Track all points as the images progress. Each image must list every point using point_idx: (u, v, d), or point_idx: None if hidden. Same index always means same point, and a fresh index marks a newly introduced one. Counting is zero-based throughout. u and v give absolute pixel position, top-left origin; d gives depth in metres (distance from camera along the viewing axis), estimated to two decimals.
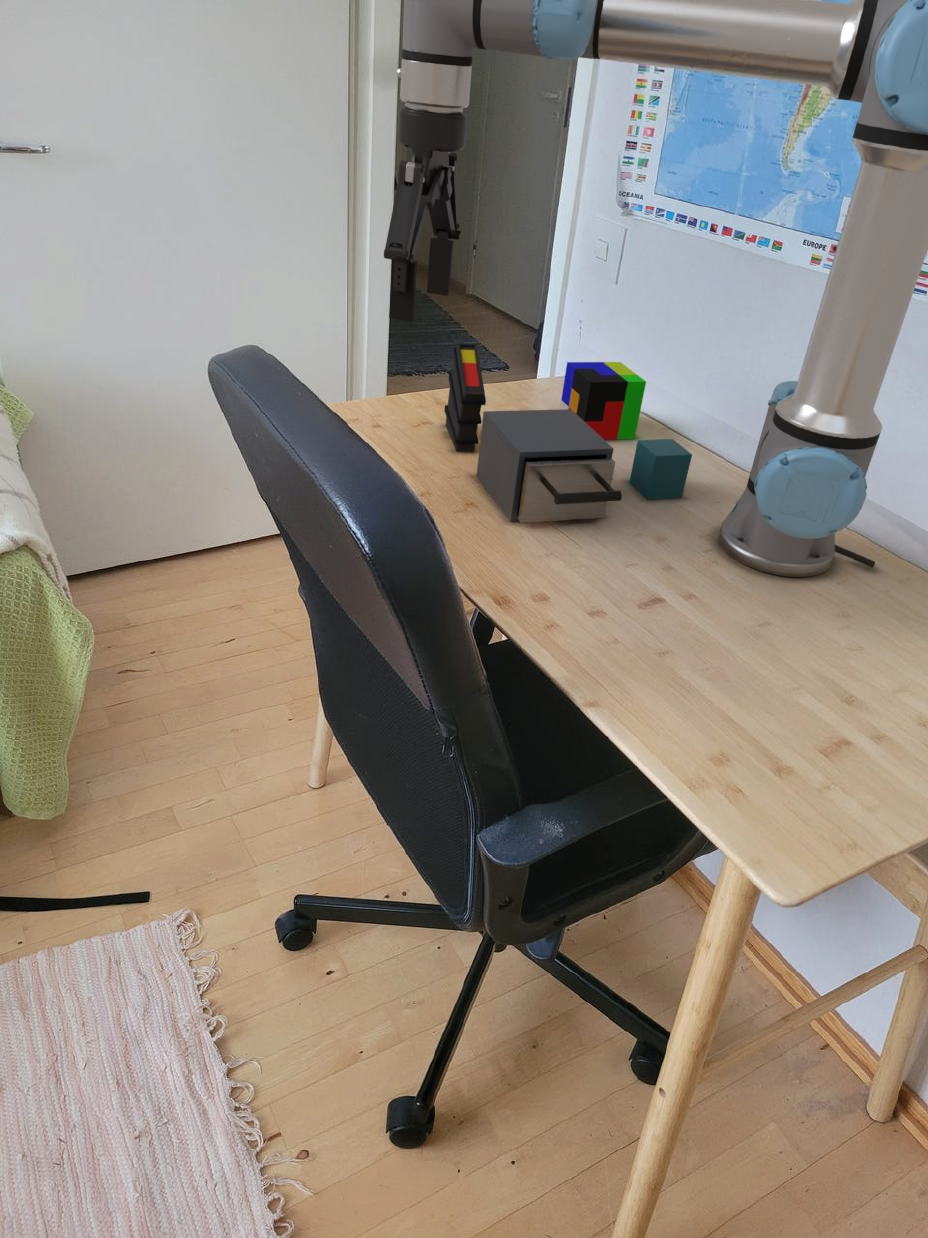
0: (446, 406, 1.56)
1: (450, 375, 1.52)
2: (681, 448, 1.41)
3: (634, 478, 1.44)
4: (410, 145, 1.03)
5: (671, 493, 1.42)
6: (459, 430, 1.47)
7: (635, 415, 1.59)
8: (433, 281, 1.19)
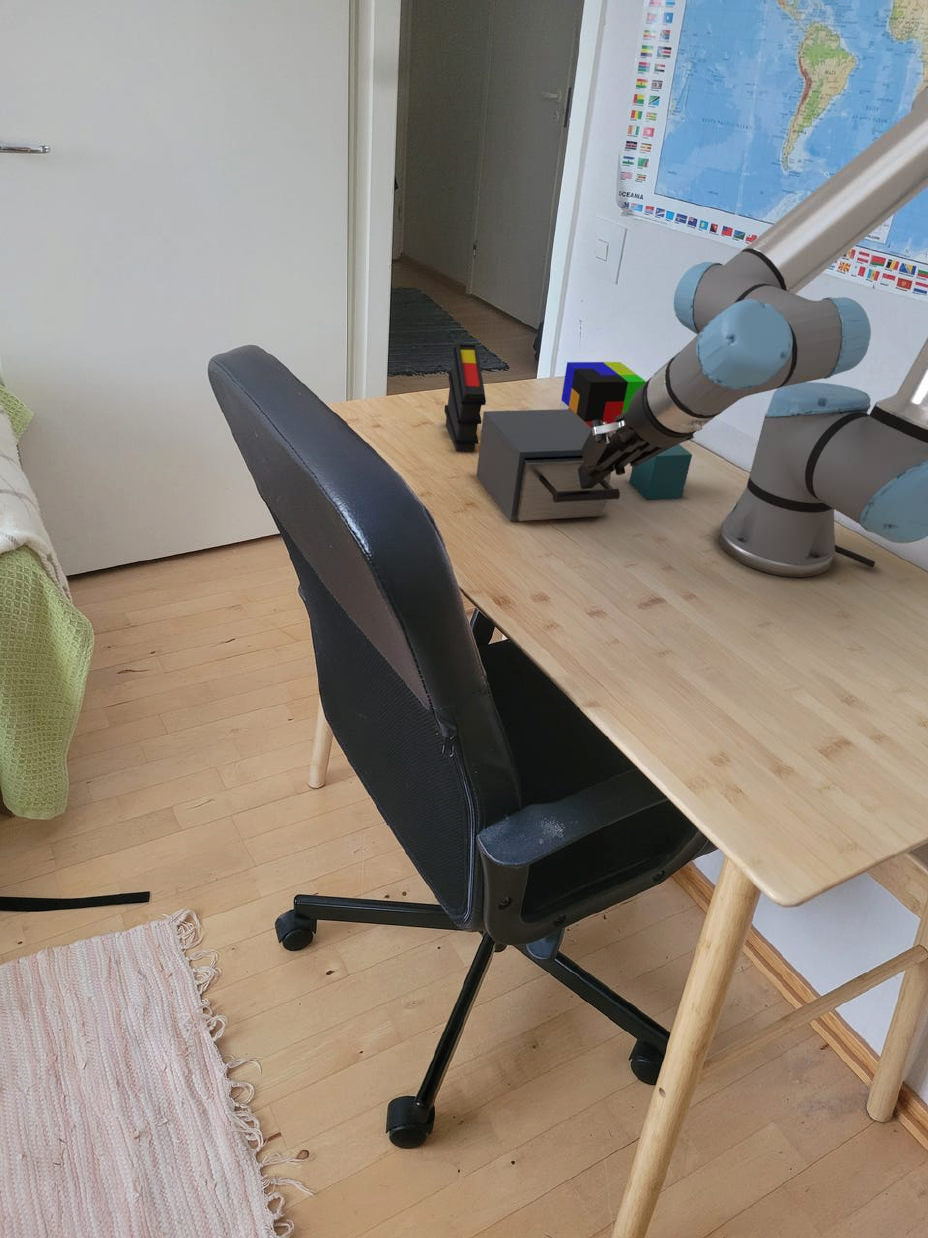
0: (446, 406, 1.56)
1: (450, 375, 1.52)
2: (681, 448, 1.41)
3: (634, 478, 1.44)
4: None
5: (671, 493, 1.42)
6: (459, 430, 1.47)
7: None
8: None
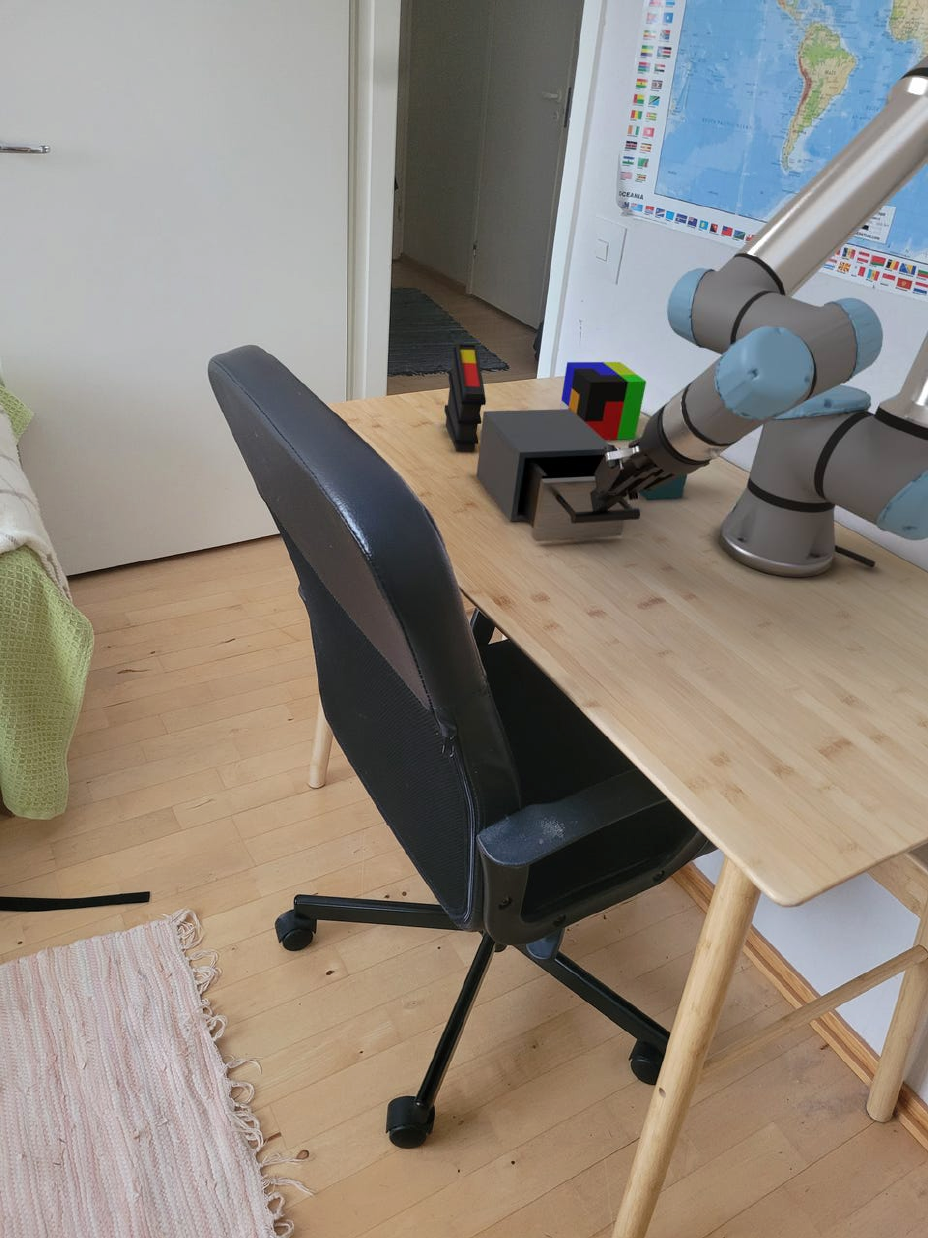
0: (446, 406, 1.56)
1: (450, 375, 1.52)
2: None
3: None
4: None
5: (671, 493, 1.42)
6: (459, 430, 1.47)
7: (635, 415, 1.59)
8: None
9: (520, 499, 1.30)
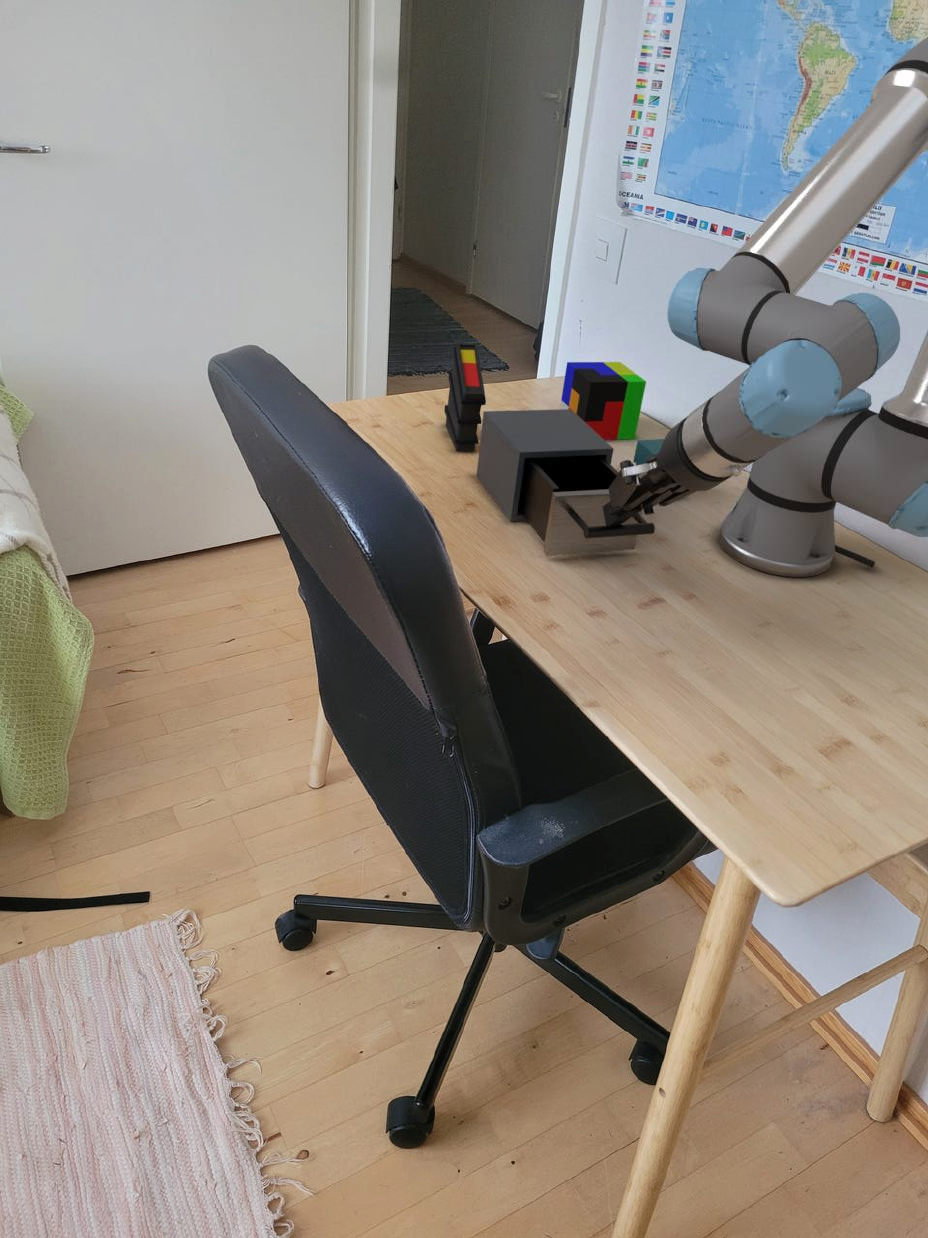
0: (446, 406, 1.56)
1: (450, 375, 1.52)
2: None
3: None
4: None
5: None
6: (459, 430, 1.47)
7: (635, 415, 1.59)
8: None
9: (530, 512, 1.27)
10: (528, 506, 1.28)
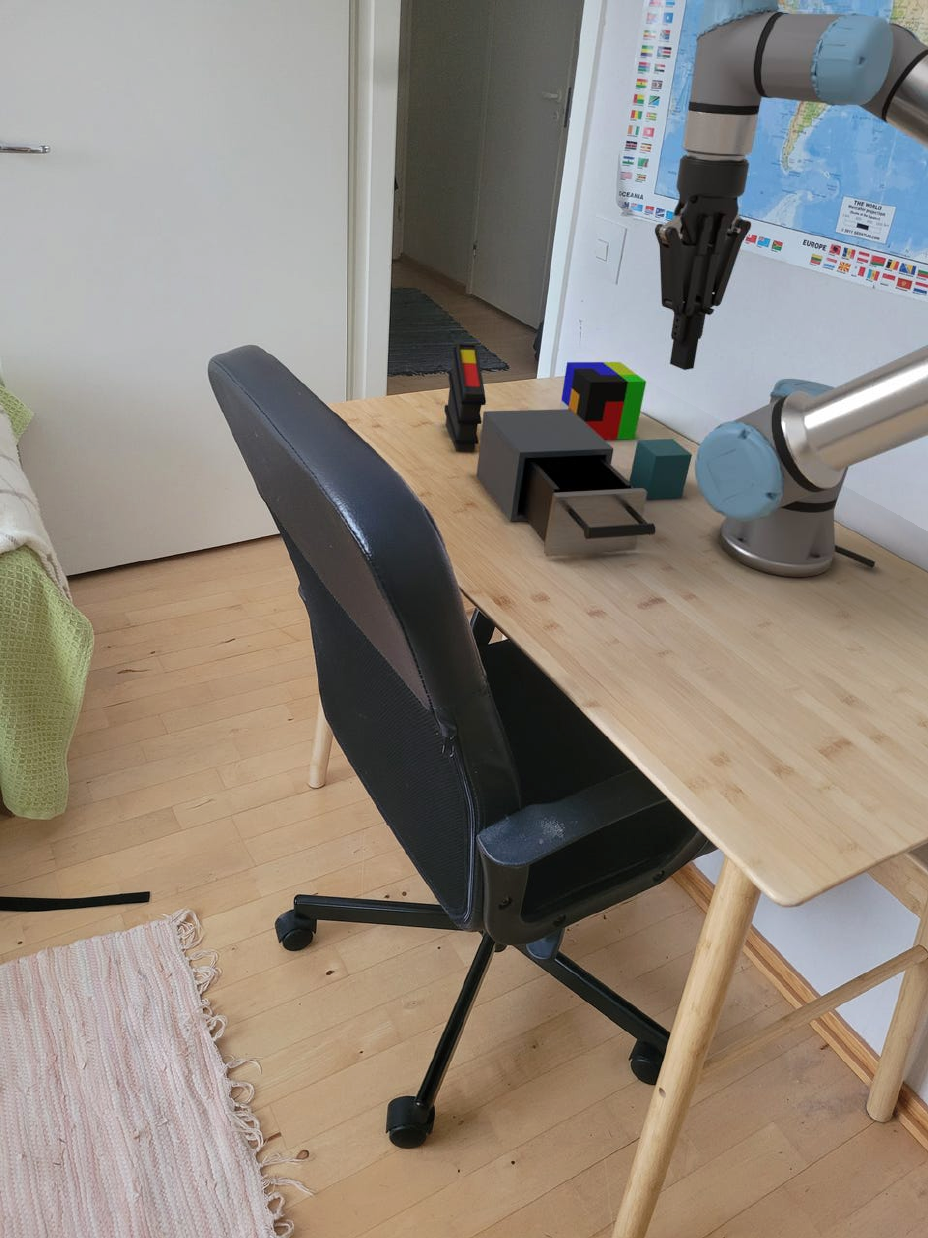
0: (446, 406, 1.56)
1: (450, 375, 1.52)
2: (681, 448, 1.41)
3: (634, 478, 1.44)
4: (678, 190, 1.06)
5: (671, 493, 1.42)
6: (459, 430, 1.47)
7: (635, 415, 1.59)
8: None
9: (531, 512, 1.27)
10: (528, 506, 1.27)
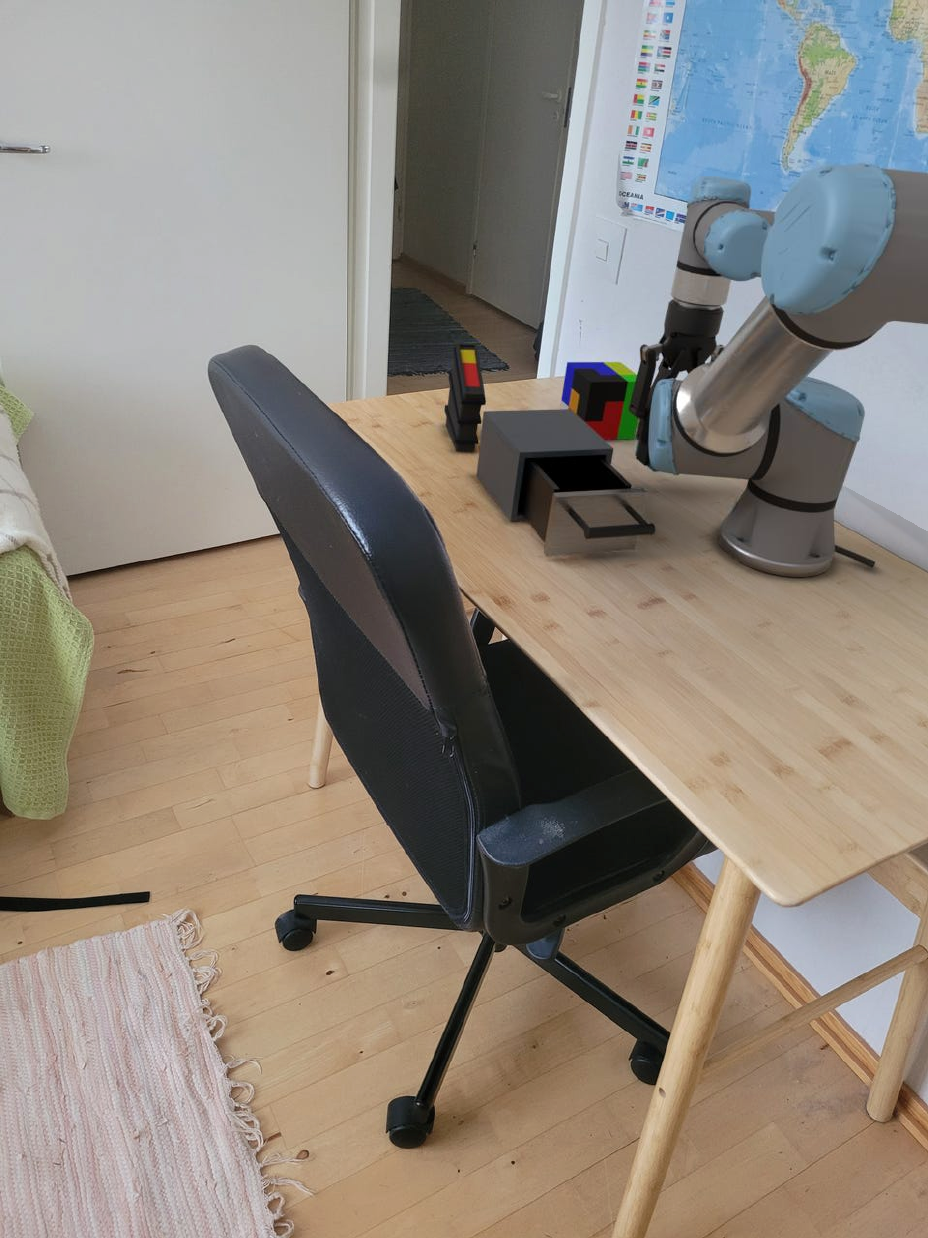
0: (446, 406, 1.56)
1: (450, 375, 1.52)
2: None
3: None
4: (664, 326, 1.31)
5: None
6: (459, 430, 1.47)
7: None
8: None
9: (531, 512, 1.27)
10: (528, 506, 1.27)
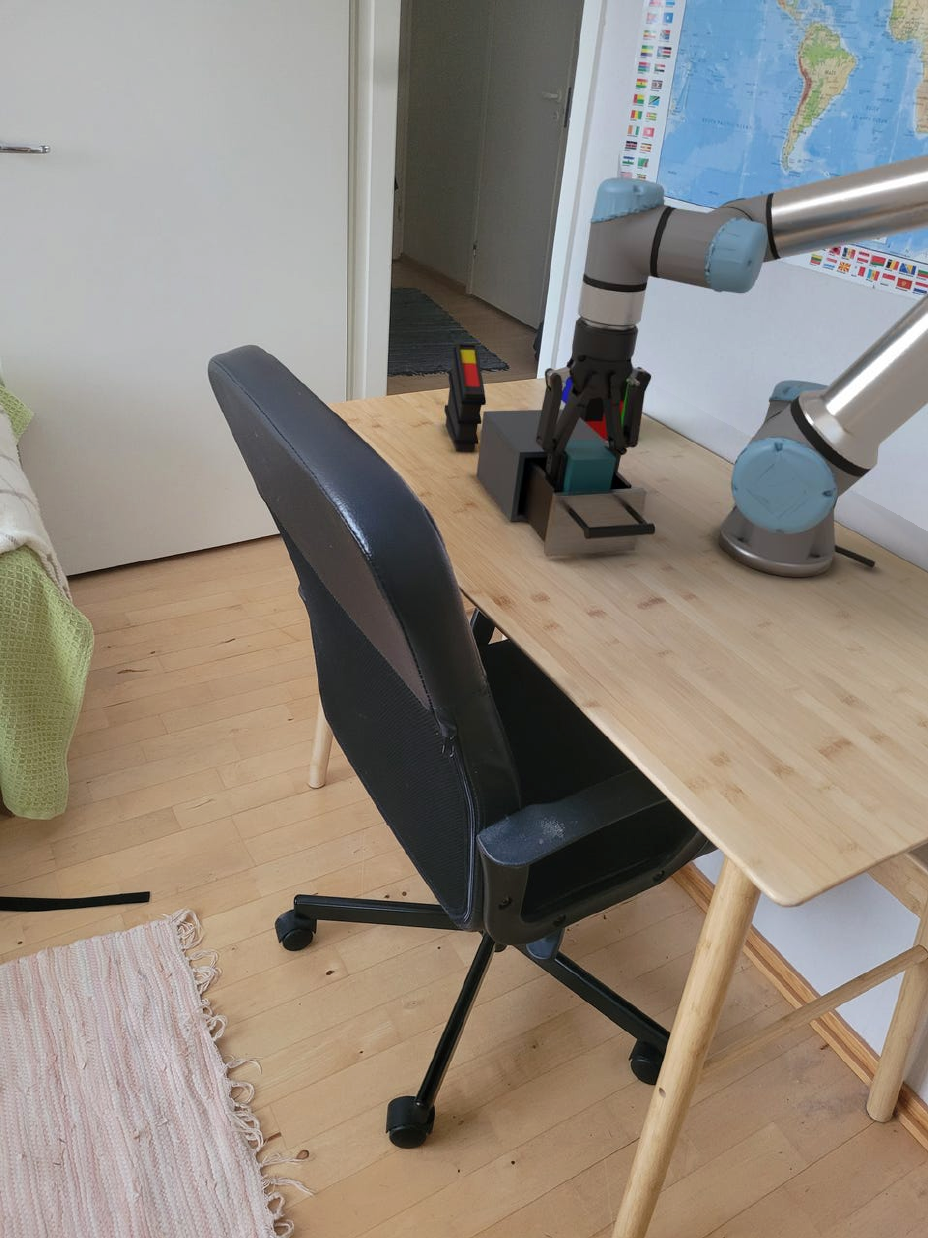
0: (446, 406, 1.56)
1: (450, 375, 1.52)
2: (604, 450, 1.22)
3: None
4: (572, 347, 1.15)
5: None
6: (459, 430, 1.47)
7: None
8: None
9: (531, 512, 1.27)
10: (528, 506, 1.28)
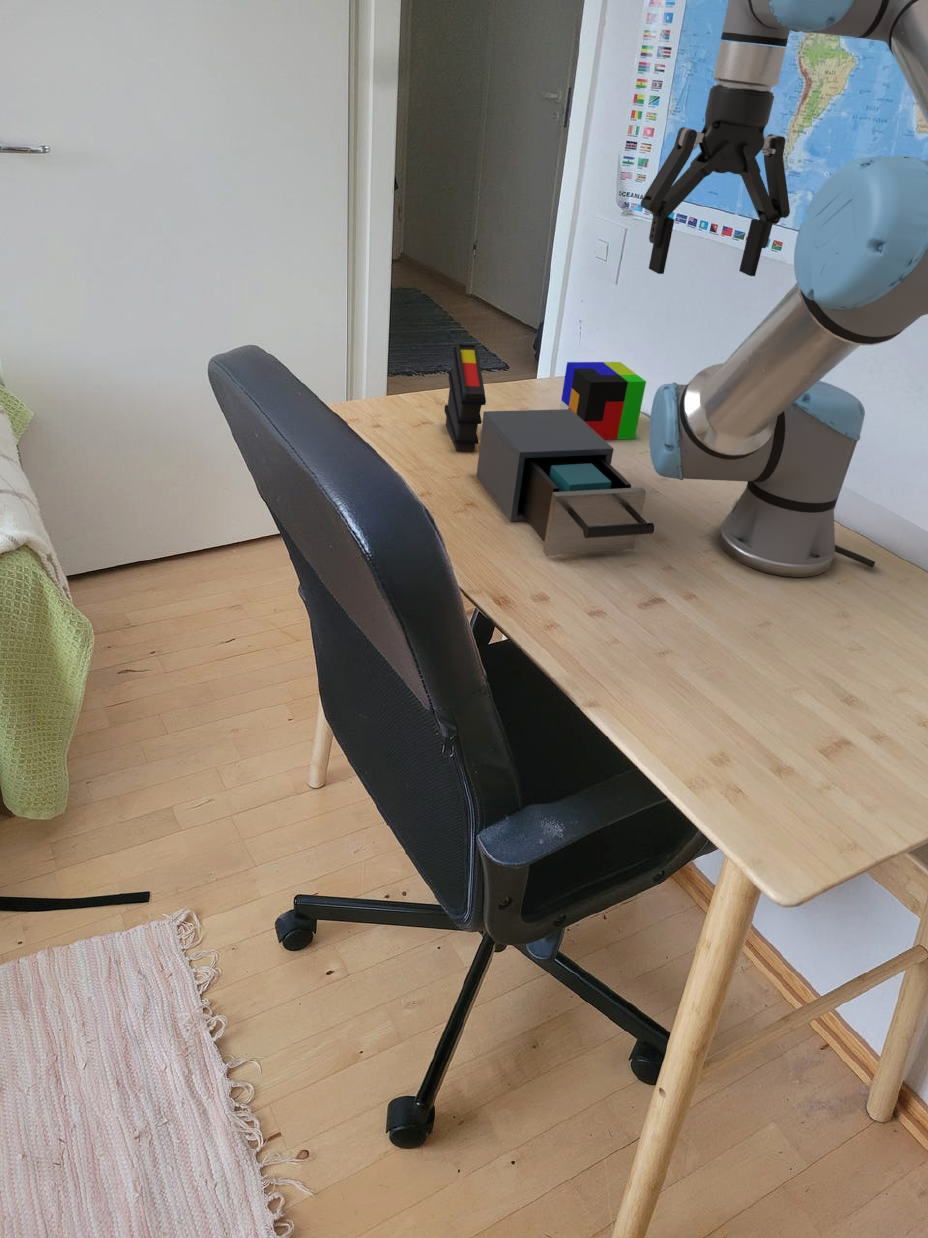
0: (446, 406, 1.56)
1: (450, 375, 1.52)
2: (599, 474, 1.24)
3: None
4: (705, 117, 1.14)
5: None
6: (459, 430, 1.47)
7: (635, 415, 1.59)
8: (745, 260, 1.25)
9: (530, 512, 1.27)
10: (528, 506, 1.28)
